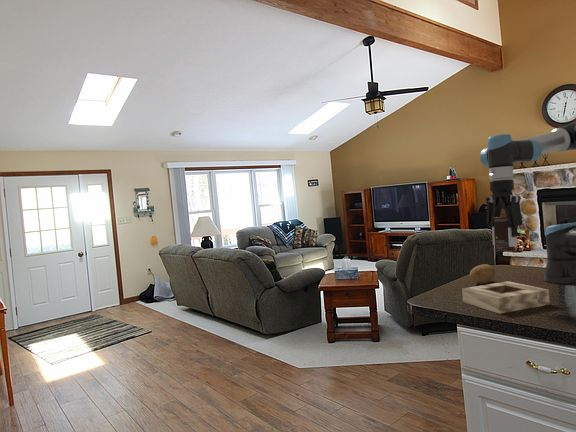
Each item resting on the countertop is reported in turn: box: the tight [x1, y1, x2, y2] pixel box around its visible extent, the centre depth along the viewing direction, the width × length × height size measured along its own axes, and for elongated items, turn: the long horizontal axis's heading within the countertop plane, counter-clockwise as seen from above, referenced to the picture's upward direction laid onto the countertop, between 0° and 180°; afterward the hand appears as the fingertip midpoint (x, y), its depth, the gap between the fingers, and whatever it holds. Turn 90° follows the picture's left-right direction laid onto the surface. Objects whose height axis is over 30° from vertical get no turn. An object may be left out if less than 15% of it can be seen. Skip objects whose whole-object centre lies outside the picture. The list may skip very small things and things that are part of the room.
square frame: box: [461, 280, 551, 314], centre depth 148 cm, size 20×18×5 cm
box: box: [494, 216, 516, 253], centre depth 149 cm, size 6×4×12 cm
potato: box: [469, 263, 496, 285], centre depth 181 cm, size 10×14×8 cm
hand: (504, 245), depth 149 cm, fingers closed on box, 7 cm apart
